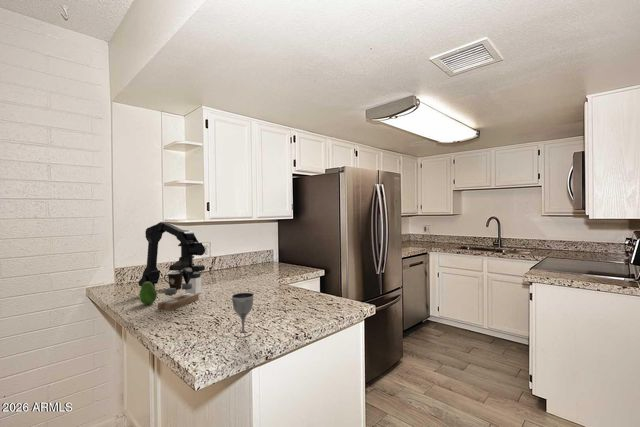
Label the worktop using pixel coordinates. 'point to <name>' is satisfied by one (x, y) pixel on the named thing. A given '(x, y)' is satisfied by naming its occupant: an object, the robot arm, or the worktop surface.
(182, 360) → the worktop surface
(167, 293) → the knob
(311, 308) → the worktop surface
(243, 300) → the wine glass
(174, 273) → the coffee mug
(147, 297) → the avocado
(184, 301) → the knob panel
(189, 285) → the knob
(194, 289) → the jar
